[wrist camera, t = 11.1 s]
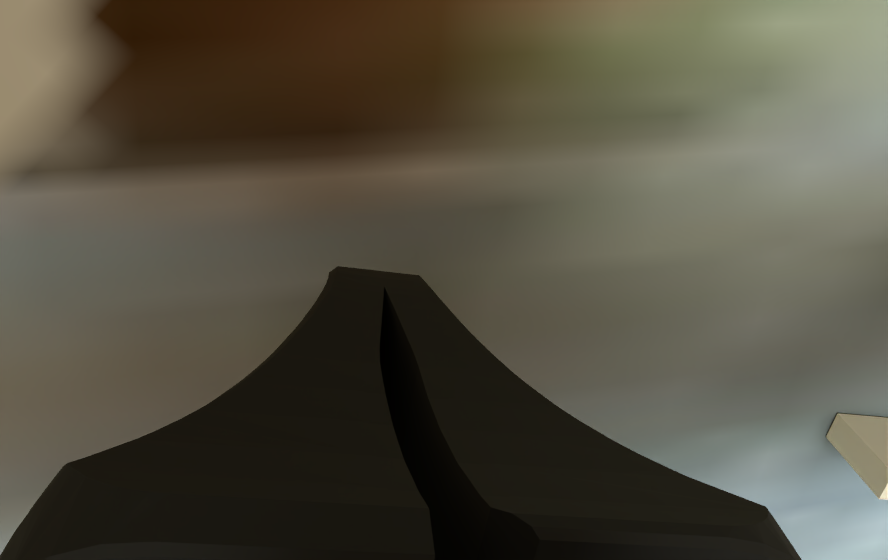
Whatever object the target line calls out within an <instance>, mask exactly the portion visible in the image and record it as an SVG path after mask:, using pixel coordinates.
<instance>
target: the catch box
mask: <svg viewBox="0 0 888 560" xmlns="http://www.w3.org/2000/svg"><path fill="white" fill-rule="evenodd" d="M826 438H827V439H828V440H829V441H830V442H831V443H832V445H833V446H834V447H835V448H836V449H837V450H838V452H839V453H840V454H841V455H842V456H843V457H844V459H845V460H846V461H847V462H848V463H849V464H850V466H851V467H852V468H853V469H854V470H855V472H856V473H857V474H858V475H859V476H860V477H861V479H862V480H863V481H864V482H865V483H866V484H867V486H868V487H869V488H870V489H871V490H872V491H873V493H874V494H875V495H876V496H877V497H878V498H879V499H886V500H888V418H885V417H874V416H862V415H851V414H840V413H838V414H837V416H836V418H835V420H834V422H833V424H832V426H831V428H830V430H829V432H828V434H827V436H826Z"/></svg>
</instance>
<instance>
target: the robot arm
mask: <svg viewBox="0 0 888 560" xmlns="http://www.w3.org/2000/svg"><path fill="white" fill-rule="evenodd" d="M0 560H801V558H800V557H799V555H798V554H797V552H796V551H795V549H794V548H793V546H792V545H791V543H790V542H789V540H788V539H787V537H786V536H785V534H784V533H783V531H782V530H781V528H780V527H779V525H778V524H777V522H776V521H775V519H774V518H773V516H772V515H771V513H770V512H769V511H768V509H767V508H766V507H765V506H762V505H760V504H757V503H754V502H752V501H749V500H747V499H744V498H741V497H739V496H736V495H734V494H731V493H728V492H726V491H723V490H720V489H718V488H715V487H713V486H710V485H707V484H705V483H702V482H700V481H697V480H694V479H692V478H689V477H687V476H685V475H682V474H680V473H678V472H676V471H673V470H671V469H669V468H667V467H665V466H663V465H661V464H659V463H656V462H654V461H652V460H650V459H648V458H646V457H644V456H642V455H640V454H638V453H636V452H634V451H632V450H630V449H628V448H626V447H624V446H622V445H620V444H619V443H617V442H615V441H613V440H611V439H609V438H608V437H606V436H604V435H603V434H601V433H599V432H598V431H596V430H594V429H592V428H591V427H589V426H587V425H586V424H584V423H582V422H581V421H579V420H577V419H576V418H574V417H573V416H571V415H570V414H568V413H567V412H565V411H563V410H562V409H560V408H559V407H558V406H556V405H555V404H553V403H552V402H551V401H549V400H548V399H547V398H545V397H544V396H542V395H541V394H540V393H538V392H537V391H536V390H534V389H533V388H532V387H530V386H529V385H528V384H526V383H525V382H524V381H523V380H521V379H520V378H519V377H518V376H516V375H515V374H514V373H513V372H512V371H510V370H509V369H508V368H507V367H506V366H505V365H504V364H503V363H502V362H501V361H499V360H498V359H497V358H496V357H495V356H494V355H493V354H492V353H491V352H490V351H488V350H487V349H486V348H485V347H484V346H483V345H482V344H481V343H480V342H479V341H478V340H477V339H476V338H475V337H474V336H473V335H472V334H471V333H470V332H469V331H468V329H467V328H466V327H465V326H464V325H463V324H462V323H461V322H460V321H459V320H458V319H457V318H456V317H455V315H454V314H453V313H452V312H451V311H450V310H449V309H448V308H447V306H446V305H445V304H444V303H443V302H442V301H441V300H440V298H439V297H438V296H437V295H436V294H435V293H434V291H433V290H432V289H431V288H430V287H429V286H428V284H427V283H426V282H425V281H424V280H423V279H422V278H421V277H420V276H419V275H410V274H401V273H393V272H384V271H375V270H366V269H357V268H348V267H339V266H338V267H336V268H335V269H333V270H332V271H331V272H329V278H328V280H327V283H326V285H325V287H324V289H323V291H322V292H321V294H320V296H319V297H318V299H317V301H316V302H315V304H314V305H313V306H312V308H311V309H310V310H309V312H308V313H307V314H306V316H305V317H304V319H303V320H302V321H301V323H300V324H299V325H298V326H297V327H296V329H295V330H294V331H293V332H292V333H291V334H290V335H289V336H288V337H287V338H286V340H285V341H284V342H283V343H282V344H281V345H280V346H279V347H278V348H277V349H276V350H275V351H274V352H273V353H272V354H271V355H270V356H269V357H268V358H267V359H266V360H265V361H264V362H263V363H262V364H261V365H259V366H258V367H257V368H256V369H255V370H254V371H252V372H251V373H250V374H249V375H248V376H246V377H245V378H244V379H243V380H242V381H240V382H239V383H238V384H236V385H235V386H233V387H232V388H231V389H229V390H228V391H226V392H225V393H223V394H222V395H221V396H219V397H218V398H216V399H215V400H213V401H212V402H210V403H209V404H207V405H206V406H204V407H202V408H200V409H199V410H197V411H195V412H193V413H191V414H189V415H187V416H185V417H183V418H182V419H180V420H178V421H176V422H173V423H171V424H169V425H167V426H165V427H163V428H161V429H159V430H156V431H154V432H152V433H150V434H147V435H145V436H143V437H140V438H138V439H135V440H133V441H130V442H127V443H124V444H122V445H119V446H116V447H113V448H110V449H108V450H105V451H102V452H99V453H97V454H94V455H91V456H88V457H85V458H82V459H79V460H76V461H73V462H70V463H67V464H66V465H65V466H63V467H62V469H61V470H60V471H59V473H58V474H57V475H56V476H55V478H54V479H53V480H52V481H51V483H50V484H49V485H48V487H47V488H46V489H45V491H44V492H43V493H42V495H41V496H40V497H39V499H38V500H37V501H36V503H35V504H34V506H33V507H32V508H31V510H30V511H29V513H28V514H27V516H26V517H25V518H24V520H23V521H22V523H21V524H20V525H19V527H18V528H17V529H16V531H15V532H14V534H13V536H12V537H11V539H10V540H9V542H8V544H7V545H6V547H5V549H4V550H3V552H2V554H1V555H0Z"/></svg>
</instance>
